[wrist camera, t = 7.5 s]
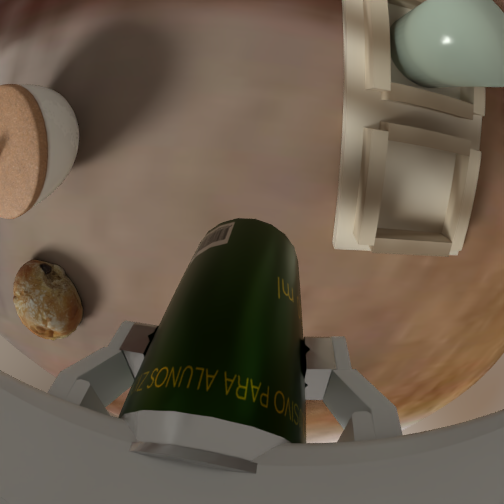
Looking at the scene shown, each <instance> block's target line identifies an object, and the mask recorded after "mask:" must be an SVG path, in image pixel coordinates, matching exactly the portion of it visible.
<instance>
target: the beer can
mask: <svg viewBox="0 0 504 504" xmlns="http://www.w3.org/2000/svg"><path fill="white" fill-rule="evenodd" d="M118 418H120V419H123V420H124V421H125V423H126V424H127V425H128V427H129V428H130V430H131V431H132V433H133V434H134V436H135V437H136V439H137V440H138V442H132V444H131V446H130V449H129V451H130V452H134V453H137V454H141V455H145V456H151V457H159V458H166V459H173V460H178V461H183V462H188V463H194V464H200V465H205V466H210V467H214V468H219V469H223V470H228V471H233V472H240V473H252V474H256V471H257V464H258V463H254V462H251V461H252V460H253V459H255V458H257V457H259V456H260V455H262V454H264V453H265V452H267V451H269V450H270V449H272V448H274V447H276V446H279V445H281V444H285V443H306V402H305V374H304V350H303V327H302V310H301V295H300V281H299V267H298V259H297V256H296V252H295V249H294V246H293V245H292V244H291V242H290V241H289V239H288V238H287V237H286V235H285V234H284V233H282V232H281V231H279V230H278V229H277V228H275V227H274V226H273V225H271V224H269V223H266V222H263V221H260V220H257V219H244V218H237V219H233V220H230V221H226V222H222V223H220V224H219V225H217V226H216V227H214V228H213V229H211V230H210V231H208V233H207V234H206V236H205V237H204V238H203V240H202V241H201V242H200V244H199V246H198V248H197V250H196V252H195V254H194V256H193V258H192V260H191V262H190V264H189V266H188V268H187V269H186V271H185V273H184V275H183V277H182V279H181V281H180V283H179V285H178V287H177V290H176V292H175V294H174V296H173V298H172V300H171V302H170V304H169V306H168V308H167V310H166V312H165V314H164V316H163V318H162V321H161V323H160V325H159V327H158V329H157V331H156V333H155V335H154V338H153V340H152V342H151V344H150V346H149V348H148V351H147V353H146V355H145V357H144V359H143V362H142V364H141V366H140V368H139V371H138V373H137V375H136V377H135V380H134V382H133V384H132V387H131V389H130V391H129V394H128V396H127V398H126V401H125V403H124V405H123V408H122V410H121V413H120V415H119V417H118Z"/></svg>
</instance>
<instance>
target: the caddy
mask: <svg viewBox="0 0 504 504" xmlns="http://www.w3.org/2000/svg"><path fill="white" fill-rule="evenodd" d="M424 1H426V0H342V10H343V35H344V100H343V127H342V146H341V161H340V174H339V186H338V197H337V207H336V216H335V225H334V233H333V242H332V243H333V246H334V249H346V250H367V251H372V253H384V254H405V255H425V256H445V257H449V255H458V252H459V251H461V250H462V246H463V243H464V239H465V235H466V232H467V228H468V224H469V220H470V215H471V211H472V206H473V202H474V197H475V192H476V186H477V180H478V174H479V168H480V161H481V153H482V152H481V151H479V148H480V138H481V126H482V116H485V87H443V88H426V87H422V86H419V85H417V84H415V83H413V82H411V81H410V80H409V79H407V78H406V77H405V76H404V75H403V74H402V73H401V72H400V71H399V70H398V68H397V67H396V66H395V64H394V62H393V61H392V59H391V52H390V27H391V25H392V24H393V23H394V22H395V21H396V20H397V19H399V18H400V17H402V16H403V15H405V14H406V13H408V12H409V11H411V10H412V9H414V8H415V7H417V6H418V5H420V4H421V3H423V2H424Z"/></svg>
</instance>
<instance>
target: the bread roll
mask: <svg viewBox="0 0 504 504" xmlns="http://www.w3.org/2000/svg"><path fill="white" fill-rule="evenodd" d="M13 290H14V298H13V302H14V304H15V308H16V311H17V313H18V316H19V317H20V319H21V321H22V323H23V324H24V325H25V326H26V327H27V328H28V329H29V330H30V331H31V332H33V333H34V334H36V335H37V336H39V337H42V338H44V339H51V340H56V339H57V338H60V339H63V338H67V337H68V336H69V335H70V334H71V333H72V332H74V331H75V330H76V328H77V326H78V325H79V323H80V322H81V320H82V314H83V308H82V305H81V299H80V297H79V295H78V293H77V291H76V288H75V286H74V285H73V283H72V282H71V280H70V279H69V278H68V277H67V276H66V275H65V273H64V270H63V268H61V267H60V266H58V265H55V264H54V265H53V264H50V263H48V262H44V261H39V260H30V261H29V262H27V263H25V264H24V265H23V266H22V267H21V268H20V269H19V271H18V273H17V275H16V277H15V282H14V289H13Z"/></svg>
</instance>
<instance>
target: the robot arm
mask: <svg viewBox="0 0 504 504" xmlns="http://www.w3.org/2000/svg"><path fill="white" fill-rule="evenodd" d="M158 327H159V326H157V325H150V324H144V323H138V322H131V321H124V322H123V323H122V324H121V326H120V327H119V329H118V330H117V332H116V334H115V335H114V337H113V339H112V340H111V342H110V344H109V345H108V347H103V348H101V349H100V350H98V351H96V352H94V353H93V354H91V355H89V356H87V357H86V358H84V359H82V360H80V361H78V362H77V363H75V364H73V365H71V366H70V367H68V368H66V369H64V370H63V371H61V372H60V373H59V375H58V377H57V378H56V380H55V381H54V383H53V385H52V386H51V388H50V390H49V391H48V393H46V392H44V391H42V390H39V389H37V388H35V387H33V386H31V385H28V384H26V383H24V382H22V381H20V380H18V379H16V378H14V377H12V376H10V375H8V374H6V373H4V372H2V371H1V370H0V504H504V409H503V410H500V411H498V412H495V413H492V414H489V415H486V416H483V417H479V418H476V419H473V420H469V421H466V422H463V423H459V424H455V425H451V426H447V427H443V428H438V429H434V430H429V431H424V432H420V433H414V434H408V435H402V431H401V426H400V422H399V417H398V413H397V409H396V407H395V406H394V405H393V404H392V403H391V402H390V401H389V400H388V399H387V398H386V397H385V396H383V395H382V394H381V393H380V392H379V391H378V390H377V389H376V388H375V387H374V386H373V385H372V384H371V383H370V382H369V381H368V380H366V379H365V378H364V377H363V376H362V375H361V374H360V373H359V372H358V371H357V370H356V369H352V368H351V363H350V358H349V353H348V348H347V343H346V338H345V337H304V339H303V350H304V374H305V400H323V402H324V403H325V405H326V406H327V407H328V409H329V410H330V411H331V413H332V414H333V415H334V417H335V418H336V419H337V421H338V422H339V423H340V425H341V426H342V427H343V429H344V431H343V433H342V434H341V436H340V438H339V440H338V442H335V443H285V444H281V445H279V446H276V447H274V448H272V449H270V450H269V451H267V452H265V453H264V454H262V455H260V456H259V457H257V458H255V459H253V460H252V461H251V462H254V463H258V464H257V471H256V474H252V473H240V472H233V471H228V470H223V469H219V468H214V467H210V466H205V465H200V464H194V463H188V462H183V461H178V460H173V459H166V458H159V457H151V456H145V455H141V454H137V453H134V452H130V451H129V449H130V446H131V444H132V442H138V440H137V439H136V437H135V436H134V434H133V433H132V431H131V430H130V428H129V427H128V425H127V424H126V423H125V421H124V420H123V419H120V418H117V417H113V416H110V414H109V413H108V411H107V410H106V408H105V407H106V406H108V405H109V404H110V403H111V402H112V401H114V400H115V399H116V398H117V397H119V396H120V395H121V394H122V393H123V392H125V391H126V390H127V389H128V388H129V387H131V386H132V384H133V382H134V380H135V377H136V375H137V373H138V371H139V368H140V366H141V364H142V362H143V359H144V357H145V355H146V353H147V351H148V348H149V346H150V344H151V342H152V340H153V338H154V335H155V333H156V331H157V329H158Z"/></svg>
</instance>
